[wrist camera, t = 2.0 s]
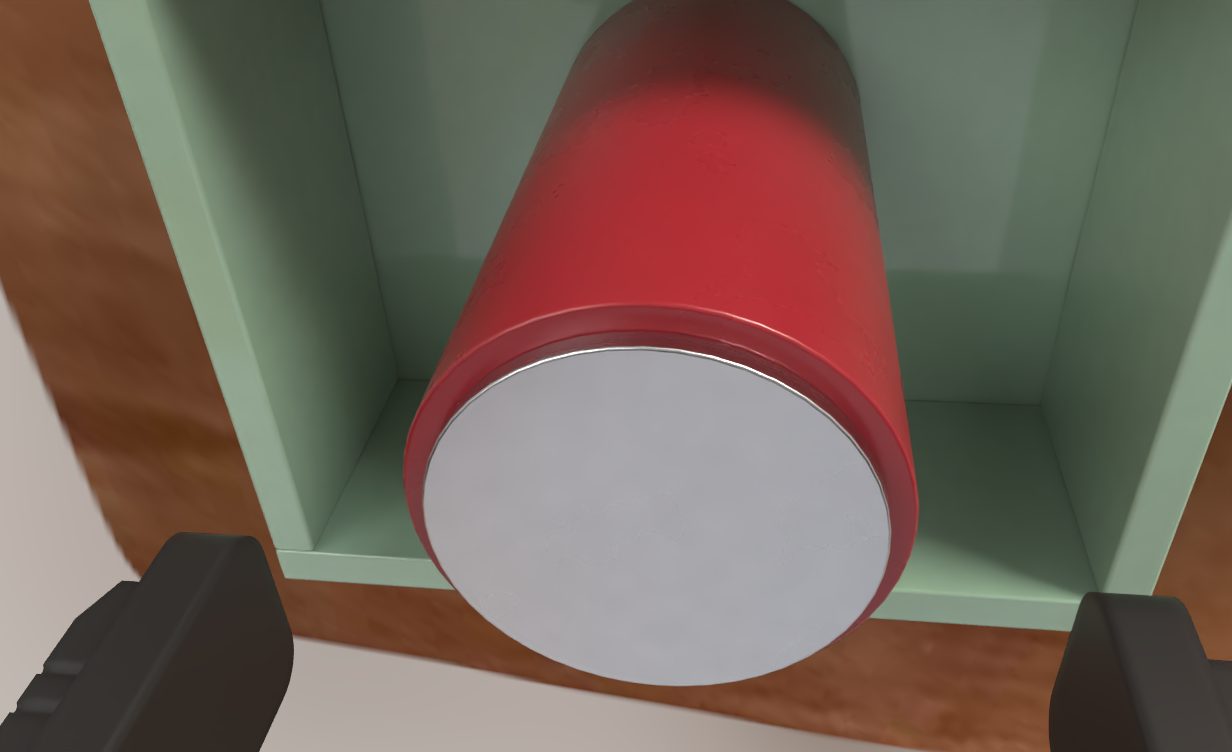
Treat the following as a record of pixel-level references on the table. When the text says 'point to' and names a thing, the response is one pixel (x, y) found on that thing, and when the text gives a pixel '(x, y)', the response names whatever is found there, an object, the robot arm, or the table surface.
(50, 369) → the table surface
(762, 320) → the can
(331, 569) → the open box
